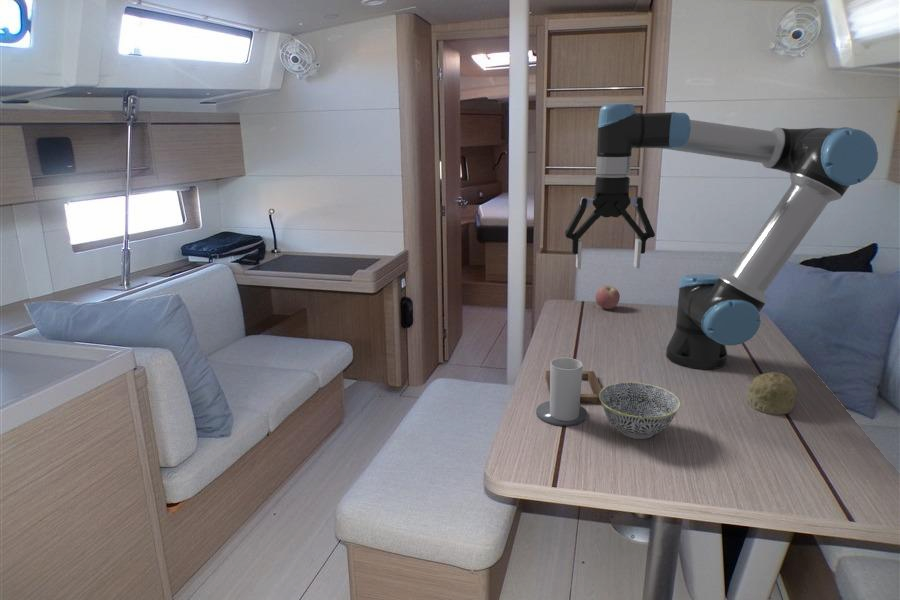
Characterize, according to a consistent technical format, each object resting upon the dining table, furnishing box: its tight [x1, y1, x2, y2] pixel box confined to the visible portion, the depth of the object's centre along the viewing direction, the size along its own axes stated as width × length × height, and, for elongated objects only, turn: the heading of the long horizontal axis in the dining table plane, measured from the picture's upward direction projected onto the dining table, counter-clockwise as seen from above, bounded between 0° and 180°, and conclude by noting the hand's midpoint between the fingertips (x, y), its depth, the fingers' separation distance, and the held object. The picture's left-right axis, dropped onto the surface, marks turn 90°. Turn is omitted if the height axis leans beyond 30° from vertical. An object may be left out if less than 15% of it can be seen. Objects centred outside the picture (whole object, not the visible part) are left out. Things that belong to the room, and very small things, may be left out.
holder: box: [544, 370, 603, 404], centre depth 144 cm, size 12×15×2 cm
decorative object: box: [746, 371, 798, 416], centre depth 133 cm, size 9×10×10 cm
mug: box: [549, 357, 583, 421], centre depth 130 cm, size 10×7×12 cm, turn 175°
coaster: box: [535, 400, 588, 427], centre depth 132 cm, size 11×11×1 cm
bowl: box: [599, 381, 682, 440], centre depth 123 cm, size 16×16×8 cm
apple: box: [595, 285, 620, 310], centre depth 204 cm, size 8×8×8 cm
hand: (607, 267), depth 141 cm, fingers open, 13 cm apart
